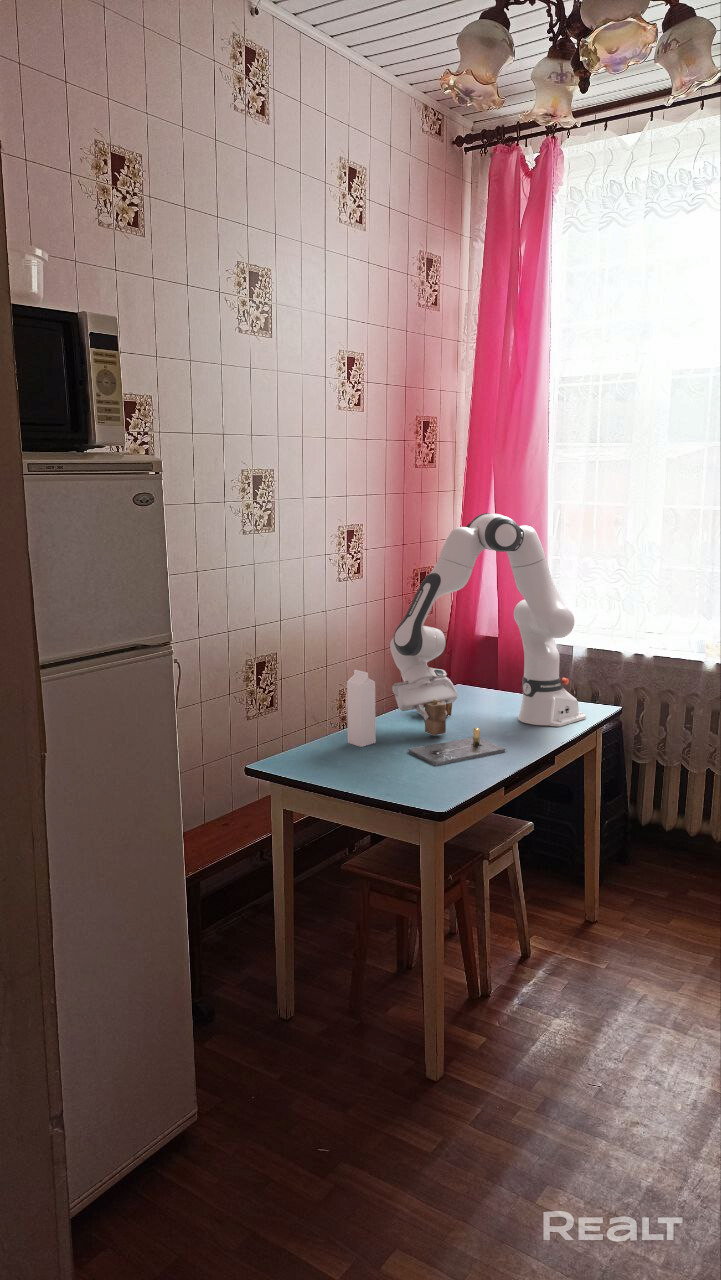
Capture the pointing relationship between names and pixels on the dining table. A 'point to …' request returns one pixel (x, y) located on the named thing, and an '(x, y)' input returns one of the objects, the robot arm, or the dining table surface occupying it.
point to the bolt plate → (456, 750)
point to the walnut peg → (436, 718)
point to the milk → (361, 709)
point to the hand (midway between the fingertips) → (436, 717)
